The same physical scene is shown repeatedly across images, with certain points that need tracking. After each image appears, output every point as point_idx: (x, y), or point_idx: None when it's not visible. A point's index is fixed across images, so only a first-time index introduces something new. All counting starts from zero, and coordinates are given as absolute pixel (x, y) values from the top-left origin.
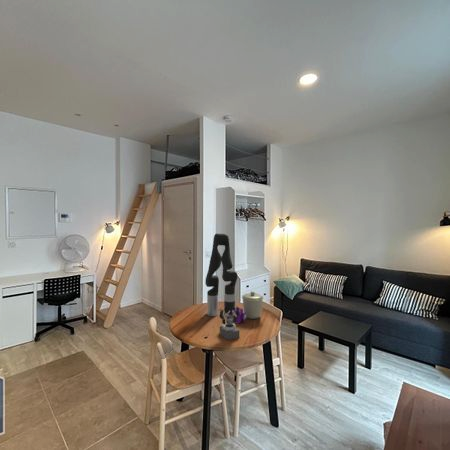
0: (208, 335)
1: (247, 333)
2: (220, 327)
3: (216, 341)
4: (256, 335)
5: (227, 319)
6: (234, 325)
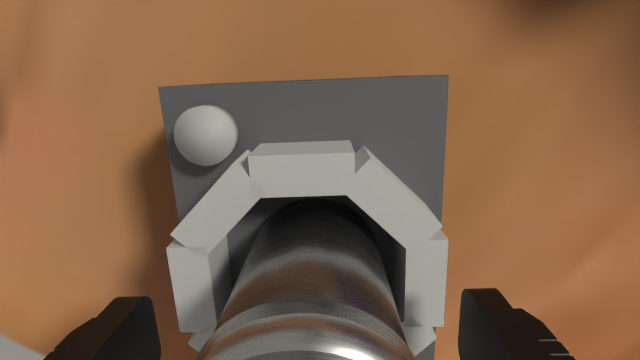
0: (19, 81)
1: (576, 262)
2: (170, 125)
3: (91, 283)
4: (635, 352)
5: None
6: (407, 339)
